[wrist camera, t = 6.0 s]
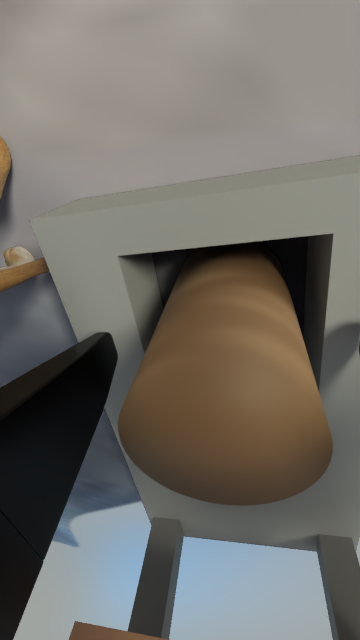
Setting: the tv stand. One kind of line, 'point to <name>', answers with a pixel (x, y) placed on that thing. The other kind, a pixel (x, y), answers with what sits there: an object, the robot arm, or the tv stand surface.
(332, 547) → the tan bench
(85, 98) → the tv stand surface
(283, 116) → the tv stand surface
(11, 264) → the lion figurine
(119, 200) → the socket block
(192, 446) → the peg
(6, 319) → the tv stand surface
